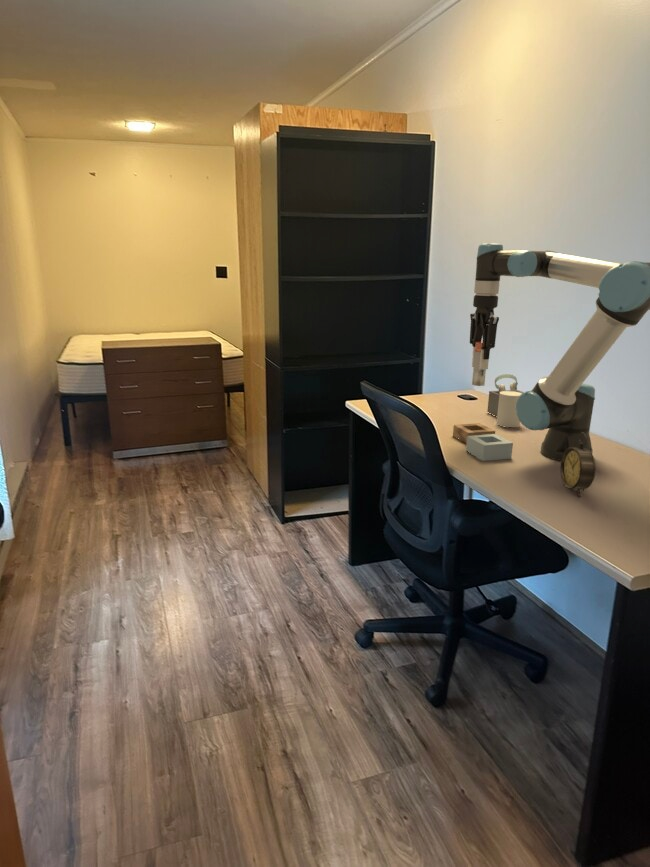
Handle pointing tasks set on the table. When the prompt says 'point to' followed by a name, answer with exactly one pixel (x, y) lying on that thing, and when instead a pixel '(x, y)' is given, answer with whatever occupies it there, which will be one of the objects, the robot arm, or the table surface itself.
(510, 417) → the cream cylinder
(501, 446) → the frame
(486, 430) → the mount
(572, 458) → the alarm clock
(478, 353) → the pin
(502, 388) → the headphones
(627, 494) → the table surface
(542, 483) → the table surface
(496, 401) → the box
